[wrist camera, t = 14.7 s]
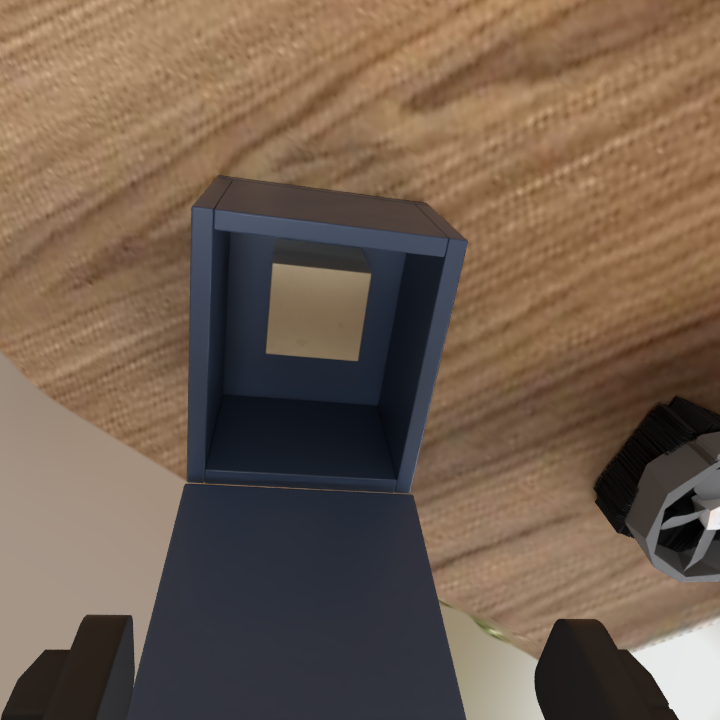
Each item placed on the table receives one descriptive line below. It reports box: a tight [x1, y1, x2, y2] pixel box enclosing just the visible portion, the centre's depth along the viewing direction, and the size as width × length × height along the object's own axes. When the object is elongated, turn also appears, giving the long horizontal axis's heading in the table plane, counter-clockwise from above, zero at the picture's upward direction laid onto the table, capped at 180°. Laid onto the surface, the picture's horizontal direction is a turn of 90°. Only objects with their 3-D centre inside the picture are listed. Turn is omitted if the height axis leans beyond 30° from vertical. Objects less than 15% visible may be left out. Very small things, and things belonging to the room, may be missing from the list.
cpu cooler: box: [594, 397, 720, 582], centre depth 36 cm, size 10×6×10 cm
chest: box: [187, 175, 468, 493], centre depth 27 cm, size 13×11×8 cm
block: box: [265, 239, 371, 361], centre depth 28 cm, size 4×4×4 cm
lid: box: [127, 484, 466, 720], centre depth 20 cm, size 14×11×1 cm
